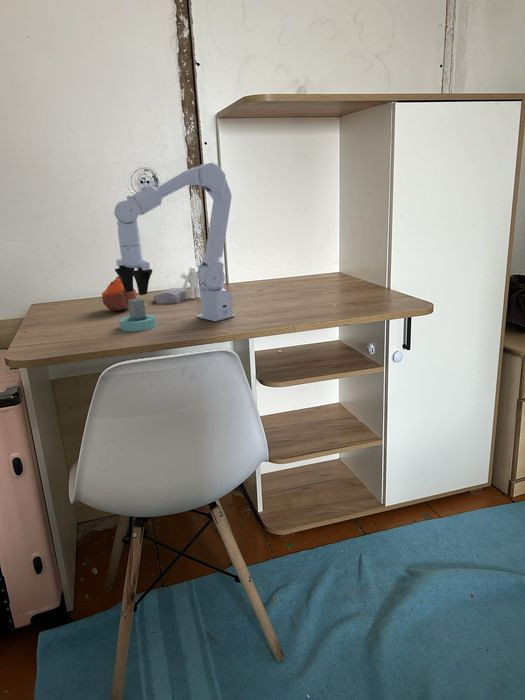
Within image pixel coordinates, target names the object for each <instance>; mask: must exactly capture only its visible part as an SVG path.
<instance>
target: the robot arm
mask: <svg viewBox="0 0 525 700" xmlns="http://www.w3.org/2000/svg"><path fill="white" fill-rule="evenodd" d="M227 181H228V180H227V177H226V172H224V171H223V170H222V167H220V166H219V165H218V164H216V163H214V162H208V163H205V164H204V163H202V164H199V165H197V166H196V167H192V168H189V169H187V170H184V171H182V172H181V173H179V174H177V175H175V176H174V177H172V178H170V179H169V180H167V181H165V182H164V183H162V184H161V185H159V186H157V187H155V186H152V185H148V186H146V185H144V186H142V187H141V189H140V190H139V191H138V192H136V193H134V194H132V195H130V194H128V195H127V196H126V199H125V200H121V201H118V202H117V203H116V205H115V207H114V211H113V214H114V216H115V218H116V219H117V222H116V224H117V225H116V226H117V235H118V243H119V250H120V258H118V259H115V262H116V266H117V267H118V268H114V272H116V274H117V277H120V279H121V281H122V284H123V287H124V289H125V291H126V292H131V291H133V288H134V280H135V283H136V288H137V292H138V295H140V296H144V295H148V288H149V283H150V279H151V276H152V273H153V269H152V268H151V267H150V262H148V261H146V260H144V259H143V254H142V253H143V252H142V246H141V237H140V229H139V226H138V218H139V216H143V215H145V214H146V213H148V212H150V211H152V210H155V209H156V208H158V207H159V206H162V202H163V199H164V198H165V197H168V196H169V195H171V194H173V193H175V192H177V191H179V190H181V189H182V188H184V187H186V186H194V185H195V186H196V185H198V186H199V187H200V188H202V189H203V190H205V191H206V192H207V194H208V195H209V196H210V198H211V199H212V206H211V207H212V208H211V212H210V213H211V214H210V219H209V220H210V221H209V225H208V226H209V227H208V234H207V240H206V246H205V252H204V255H203V257H202V259H201V264H200V266H198V268H197V269H198V271H197V276H198V279H199V283H200V284H199V288H200V307H201V314H196V315H195V317H196V318H200V319H203V320H208V321H212V322H218V321H221V320H226V319H229V318H233V317H235V316H236V314H233V300H232V298H233V297H232V295H231V292H230V291H228V290H226V289H225V288H224V287H225V286H224V283H225V280H226V277H225V276H226V275H225V272H224V266H225V265H224V260H223V259H224V258H223V253H224V247H225V243H226V242H225V240H226V235H227V229H228V221H229V217H230V211H231V210H230V209H231V203H232V202H231V201H232V192H231V190H230V187H229V184H228V182H227Z"/></svg>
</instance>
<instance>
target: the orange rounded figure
mask: <svg viewBox="0 0 525 700" xmlns="http://www.w3.org/2000/svg"><path fill="white" fill-rule="evenodd" d="M137 295H138V294H137V290H136V289H135V287H133V291H131V292H126V291H125V289H124V287H123V284H122V281H121V279H120V277H119V276H116V277H115V279H113V280H112V281H111V282H110V283H109V284H108V285H107V288H106V289H105V290H104V291H102V292H101V296H102V297H101V298H102V303H103V305H104V306H105V307H106V308H107V309H109V311H112V312H121V311H123V310H126V309H127V308H128V309H129V303H128V300H132V299H137Z"/></svg>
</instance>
